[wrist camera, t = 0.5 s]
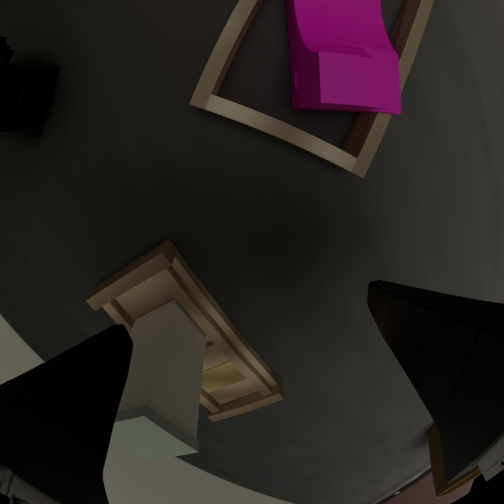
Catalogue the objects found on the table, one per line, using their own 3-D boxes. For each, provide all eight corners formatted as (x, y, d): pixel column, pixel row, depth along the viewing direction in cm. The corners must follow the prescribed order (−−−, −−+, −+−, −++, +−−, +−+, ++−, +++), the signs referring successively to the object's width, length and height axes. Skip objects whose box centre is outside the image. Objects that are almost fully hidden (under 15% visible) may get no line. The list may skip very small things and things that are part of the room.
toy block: (371, 114, 19) (427, 115, 12) (292, 109, 19) (321, 102, 12) (354, -41, 13) (392, -80, 6) (280, -51, 13) (296, -102, 6)
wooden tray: (96, 285, 24) (86, 300, 22) (169, 238, 23) (161, 252, 20) (214, 404, 32) (213, 421, 30) (280, 381, 30) (283, 398, 28)
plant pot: (437, 439, 46) (459, 489, 32) (400, 443, 43) (422, 504, 29) (482, 398, 41) (511, 449, 26) (452, 398, 38) (486, 463, 23)
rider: (133, 318, 24) (91, 426, 14) (176, 296, 23) (144, 415, 13) (166, 353, 26) (142, 460, 15) (208, 334, 25) (198, 452, 15)
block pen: (197, 107, 19) (189, 104, 15) (300, -79, 11) (308, -99, 8) (345, 169, 21) (363, 178, 18) (420, -16, 13) (441, -27, 10)
